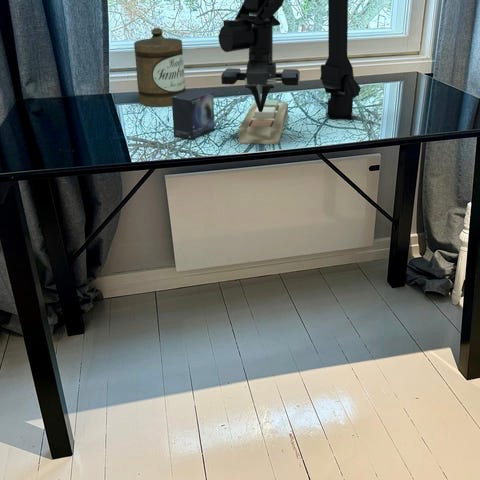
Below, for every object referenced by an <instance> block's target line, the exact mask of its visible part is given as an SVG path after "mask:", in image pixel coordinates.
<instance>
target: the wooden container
mask: <svg viewBox="0 0 480 480" xmlns="http://www.w3.org/2000/svg"><path fill="white" fill-rule="evenodd" d="M150 34H151V35H152V36H151V38H144V39H140V40H139V39H138V40H136V41H134V43H133V45H134V46H133V47H134V54H135V55H134V57H135V67H136V83H137V90H138V101H139V102H138V103H139V104H140V105H143V106H146V107H152V108H153V107H155V108H163V107H172V96H175V95H178V94H181V93H184V92H187V90H186V77H185V75H186V74H185V65H184V64H185V63H184V54H183V52H184V51H183V41H182V39H179V38H174V37H173V38H171V37H165V36H164V35H163V29H161V28H160V27H154V28H153V29H152V30H151V33H150Z"/></svg>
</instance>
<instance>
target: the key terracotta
mask: <svg viewBox="0 0 480 480" xmlns="http://www.w3.org/2000/svg"><path fill="white" fill-rule="evenodd" d="M251 126H252V127H272V121H260V120H253V122H252V124H251Z"/></svg>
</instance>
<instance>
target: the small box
mask: <svg viewBox="0 0 480 480" xmlns="http://www.w3.org/2000/svg"><path fill="white" fill-rule="evenodd" d="M214 103H215V102H214V91H211V90H206V89H200V88H193V89H189V90H186V92H184V93H181V94H178V95H175V96H172V106H171V109H172V124H173V125H172V127H173V136H174V137H176V138H183V139H187V140H194V139H196V138H198V137H201V136H204V135H205V134H208V133H210V132H212V131H214V130H215V108H214V107H215V106H214V105H215V104H214Z"/></svg>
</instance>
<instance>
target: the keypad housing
mask: <svg viewBox="0 0 480 480" xmlns="http://www.w3.org/2000/svg"><path fill="white" fill-rule="evenodd" d="M256 108H257V104H256V101H254V102H253V103H252V104H251V105H250V108H249V110H248V112H247V113H246V115H245V116H244V119H243V120H242V122H241V124H240V126H239V127H238V143H239V144H263V145H265V144H266V145H272V144H273V145H279V144H280V141H281V139H282V138H281V137H282V134H283V132H284V128H285V126H286V121H287V118H288V115H289V114H288V113H289V103H288V102H278V111H275V119H273V118H254V112H255V110H256ZM253 120H260V121H272V127H252V126H251V124H252V122H253Z"/></svg>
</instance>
